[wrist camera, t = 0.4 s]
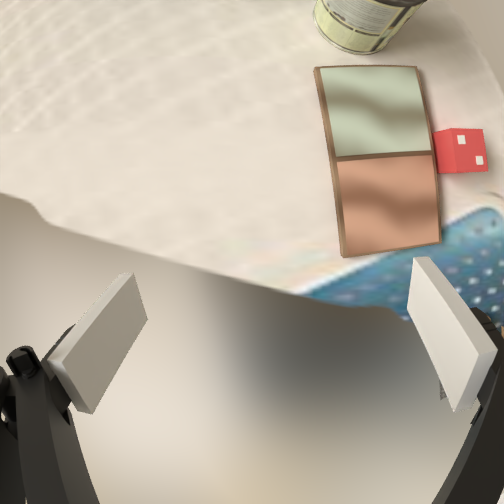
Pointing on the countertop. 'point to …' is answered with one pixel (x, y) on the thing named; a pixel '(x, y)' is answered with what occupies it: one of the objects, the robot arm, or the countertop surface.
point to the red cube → (459, 150)
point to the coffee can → (362, 22)
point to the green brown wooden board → (379, 157)
